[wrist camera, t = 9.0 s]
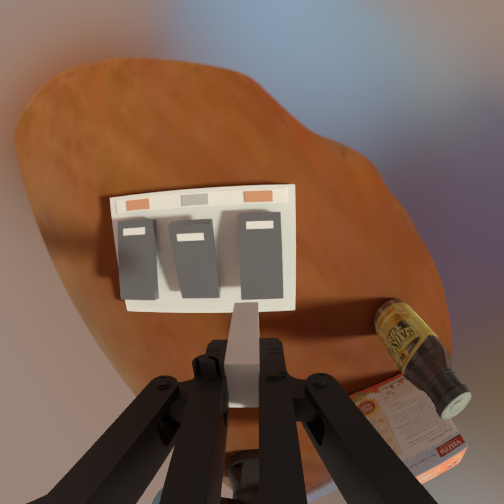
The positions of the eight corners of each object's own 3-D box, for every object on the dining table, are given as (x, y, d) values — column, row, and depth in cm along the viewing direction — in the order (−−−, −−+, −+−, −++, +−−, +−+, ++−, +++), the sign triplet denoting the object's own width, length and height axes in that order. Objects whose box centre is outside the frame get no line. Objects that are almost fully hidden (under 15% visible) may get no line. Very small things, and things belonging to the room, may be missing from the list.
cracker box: (346, 414, 42) (375, 505, 22) (342, 395, 41) (375, 494, 21) (413, 386, 41) (460, 464, 21) (414, 365, 39) (469, 447, 19)
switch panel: (292, 300, 36) (296, 314, 32) (135, 301, 37) (123, 314, 33) (291, 183, 32) (296, 184, 28) (120, 195, 33) (104, 198, 29)
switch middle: (220, 290, 32) (219, 298, 31) (184, 291, 32) (182, 298, 31) (212, 218, 28) (210, 224, 27) (171, 221, 28) (167, 226, 27)
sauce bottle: (379, 294, 36) (456, 380, 17) (412, 299, 36) (491, 374, 17) (364, 334, 38) (422, 430, 18) (397, 336, 38) (460, 421, 18)
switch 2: (282, 296, 30) (283, 298, 28) (242, 297, 30) (241, 300, 29) (279, 213, 30) (280, 211, 28) (239, 214, 30) (237, 213, 29)
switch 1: (158, 298, 30) (154, 300, 29) (126, 297, 30) (120, 299, 29) (155, 219, 30) (151, 218, 29) (123, 222, 30) (117, 221, 29)
